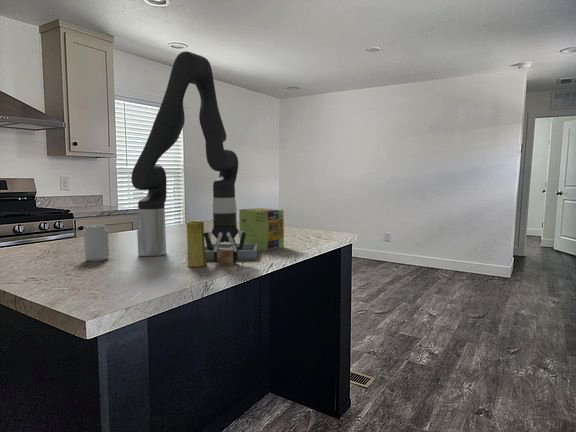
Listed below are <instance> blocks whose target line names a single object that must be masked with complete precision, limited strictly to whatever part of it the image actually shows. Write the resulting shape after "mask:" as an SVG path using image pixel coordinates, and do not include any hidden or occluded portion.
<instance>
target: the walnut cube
mask: <svg viewBox="0 0 576 432" xmlns="http://www.w3.org/2000/svg"><path fill="white" fill-rule="evenodd" d="M234 264H235V263H233V248H219V249H218V250H217V263H216V266H218V267H226V266H227V267H228V266H232V267H233V266H234Z"/></svg>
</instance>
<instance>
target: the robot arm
mask: <svg viewBox="0 0 576 432" xmlns="http://www.w3.org/2000/svg"><path fill="white" fill-rule="evenodd" d="M190 84H192V85H195V87H196V89H197V91H198V94H199V98H200V107H199V112H198V113H199V114H198V115H199V117H198V119H199V125H200V127H201V128H200V129H201V132H202V134H203V137H204V139H205V140H204V142H205V157H206V162H207V164H208V166H209V168H211V169H212V170H213V171H215V172H219V176H218V178H217V179H215V180H214V181H213V183H212V196H213V197H212V198H213V199H212V214H213V215H212V220H213V222H212V224H213V225H212V230H211V231H204V241H205V243H206V244H207V247H208V250H211V251H213V252H214V262H215V263H216V264H217V250H218V248H219V245H220V244H222V243H229V244H231V246H232V248H233V263H234V264H236V262H237V261H238V260H237V259H238V250H242V248H243V245H244V241H245V236H246V231H240V229H239V228H238V226H237V225H238V224H237V221H238V220H237V210H238V209H237V201H236V188H235V187H236V186H235V185H236V180H237V176H238V171H239V158H238V155H237V154H236V153H235V151H233V150H231V149H225V148H224V142H225V141H226V140H227V132H226V130H225V127H224V126H225V125H224V123H223V120H222V116H221V112H220V110H219V109H220V108H219V106H218V105H219V104H218V99H217V94H216V88H215V81H214V74H213V69H212V66H211V63H210V61H209V60H208V59H207V58H206V57H204V56H202V55H200V54H196V53H194V52H191V51H187V50H183V51H181V52H180V53H178V55H177V56H176V57H175V59H174V62H173V65H172V68H171V70H170V75H169V79H168V82H167V85H166V86H167V87H166V90H165V92H164V96H163V98H162V102H161V104H160V107H159V109H158V112H157V113H156V116H155V119H154V121H153V124H152V127H151V130H150V133H149V135H148V138H147V140H146V142H145V145H144V147H143V150H142V151H141V152H140V155H139V157H138V159H137V161H136V163H135V165H134V167H133V169H132V173H131V178H130V179H131V183H132V184H131V185H132V187H134V189H136V190H140V191H148V192H147V195H146V196H145V197H143V198H142V199H139V201H138V203H137V211H138V212H137V213H138V229H137V230H136V232H137V233H136V236H137V254H138V255H137V256H138V257H139V256H142V257H159V256H163V255H166V254H167V235H166V234H167V233H166V213H165V212H166V209H165V204H166V201H167V174H166V170H165V168H164V167H163V166H162V165H159V164H157V162H158V161H159V159H160V158H161V157H162V156H163V155H164V154H165V153H167V152H168V150H169V149H170V148H172V147H173V145H175V144H176V143H177V141H178V139H179V137H180V135H181V133H182V130H183V128H184V126H185V125H184V124H185V122H186V121H185V120H186V119H185V117H186V116H185V108H184V98H185V94H186V91H187V89H188V87H189V85H190ZM237 235H238V237H239V244H240V245H239V246H237V245H236V244H237V242H236V240H235V238H236V236H237ZM212 236H213V237H214V238H215V239H216V240H215V243H214V244H215V247H214V246H212V244H213V243H212V240H211V238H212ZM240 238H241V240H240ZM206 244H205V245H206Z"/></svg>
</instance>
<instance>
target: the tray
mask: <svg viewBox="0 0 576 432" xmlns="http://www.w3.org/2000/svg"><path fill="white" fill-rule="evenodd" d="M236 245H237V246H239V245H240V243H236ZM212 246H214V247H215V243H212ZM219 248H232V246H231V244H230V243H220V245H219ZM219 248H218V249H219ZM205 253H206V262H209V261H210V262H212V261H214V252H213V251H211V250H208V247H207V244H205ZM258 253H259V250H258V243H247V244H244V245H243V248H242V250H238V259H237V261H256V260H257V257H258ZM214 262H215V261H214Z"/></svg>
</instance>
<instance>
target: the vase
mask: <svg viewBox="0 0 576 432" xmlns="http://www.w3.org/2000/svg"><path fill="white" fill-rule="evenodd" d="M204 225H205V223H204V221H203V220H191V221H187V222H186V234H187V236H186V239H187V267H190V268H200V267H204V266H206V265H207V262H208V261H206V253H205V245H206V244H205V243H206V241H205V237H204V233H205V226H204Z"/></svg>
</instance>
